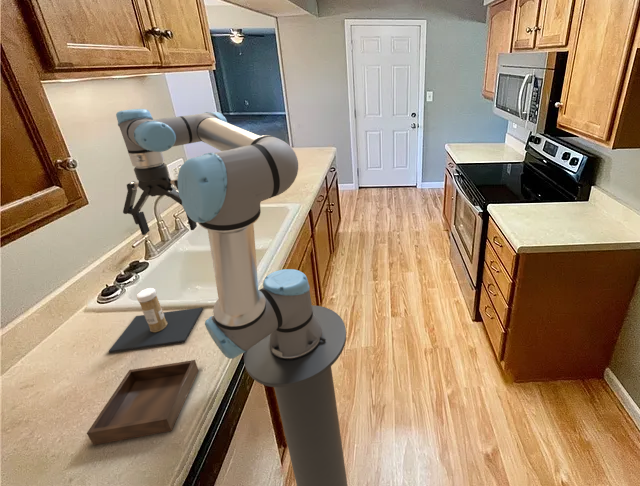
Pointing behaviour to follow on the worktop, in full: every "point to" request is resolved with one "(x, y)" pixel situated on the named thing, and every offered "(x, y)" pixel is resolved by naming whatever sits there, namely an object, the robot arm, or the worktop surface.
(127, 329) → the mat
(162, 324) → the sprinkles bottle
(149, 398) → the tray
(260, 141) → the robot arm
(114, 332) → the worktop surface
